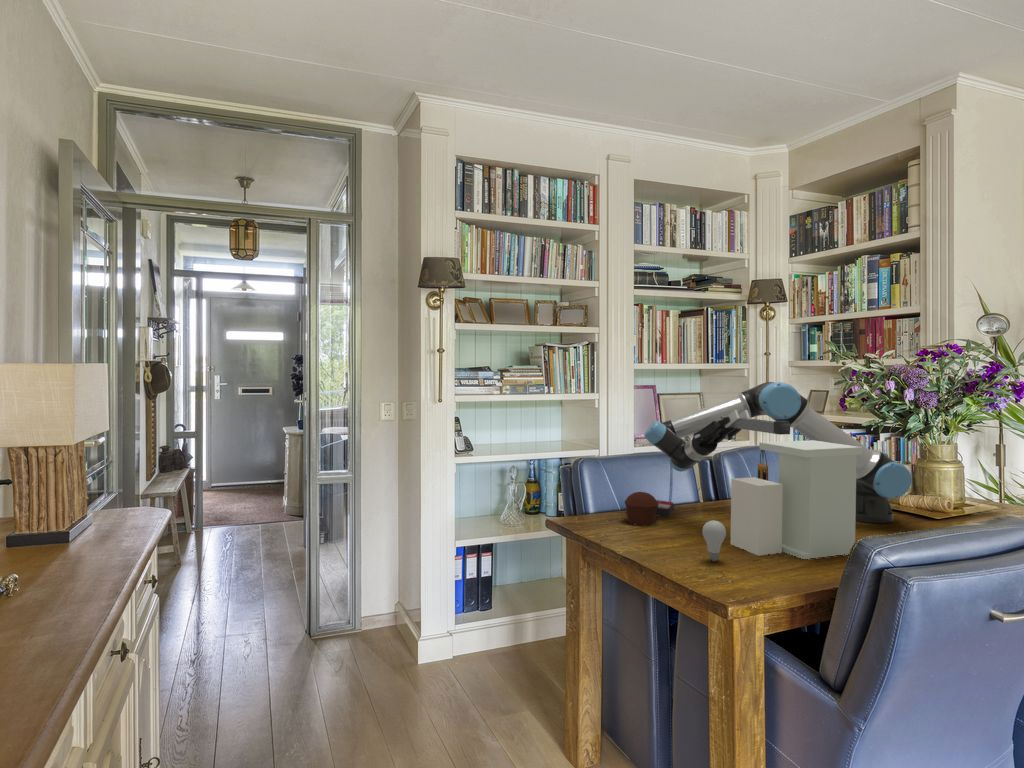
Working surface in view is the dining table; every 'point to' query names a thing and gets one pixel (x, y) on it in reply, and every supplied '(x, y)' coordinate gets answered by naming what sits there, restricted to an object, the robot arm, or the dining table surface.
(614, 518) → the dining table surface
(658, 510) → the red and black box
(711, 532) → the lightbulb
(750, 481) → the post
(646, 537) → the dining table surface
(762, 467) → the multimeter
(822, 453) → the stand
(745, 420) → the rod
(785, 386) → the robot arm
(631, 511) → the muffin
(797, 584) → the dining table surface
